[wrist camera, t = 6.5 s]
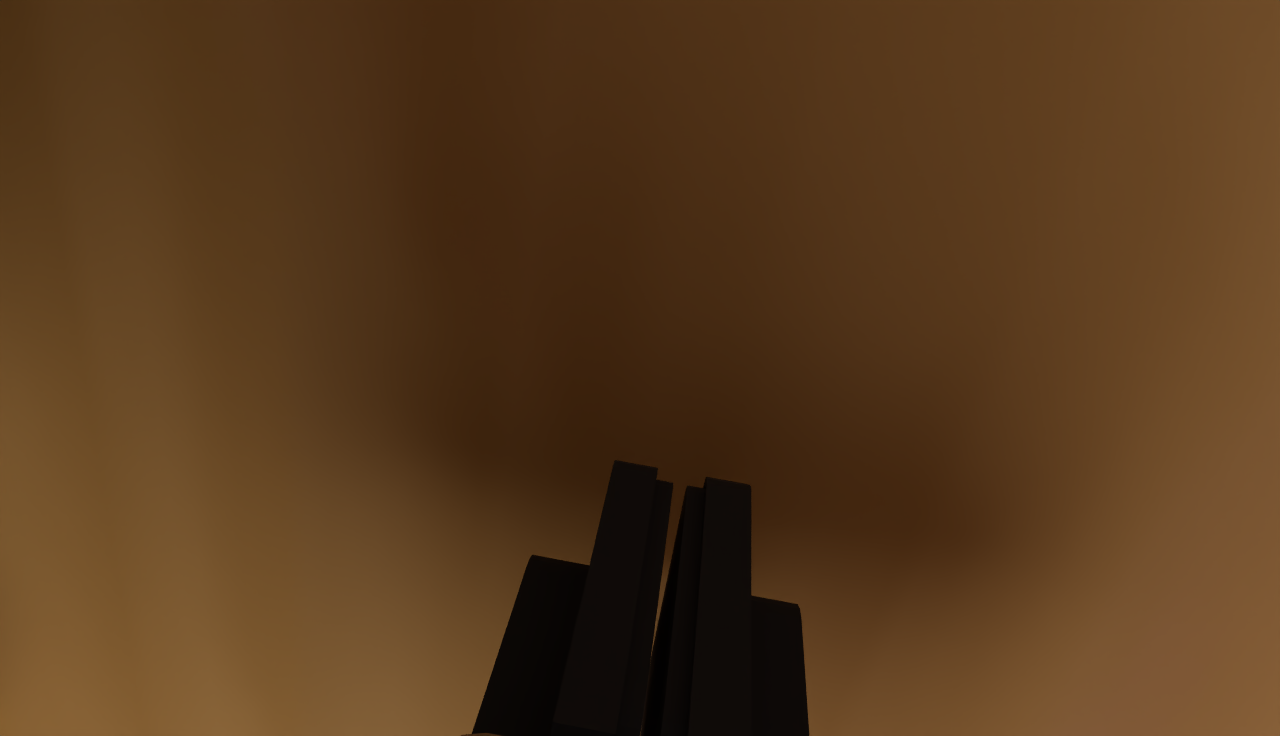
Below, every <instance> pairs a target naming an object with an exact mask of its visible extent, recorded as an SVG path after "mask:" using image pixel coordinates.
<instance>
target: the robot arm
mask: <svg viewBox="0 0 1280 736" xmlns="http://www.w3.org/2000/svg"><path fill="white" fill-rule="evenodd" d="M657 472H658V468H655V467H650V466H645V465H639V464H634V463H628V462H623V461H617V460H615V461H614V465H613V469H612V473H611V477H610V481H609V486H608V490H607V494H606V498H605V502H604V507H603V511H602V515H601V519H600V524H599V528H598V532H597V536H596V540H595V545H594V549H593V553H592V557H591V561H590V566H589V565H584V564H579V563H573V562H568V561H563V560H557V559H552V558H546V557H541V556H536V555H532V556H531V557H530V559H529V562H528V565H527V567H526V570H525V573H524V576H523V579H522V582H521V585H520V588H519V592H518V595H517V598H516V601H515V604H514V607H513V610H512V613H511V616H510V619H509V622H508V625H507V628H506V631H505V634H504V637H503V640H502V643H501V646H500V649H499V652H498V655H497V658H496V661H495V665H494V668H493V671H492V674H491V677H490V680H489V683H488V686H487V689H486V692H485V695H484V698H483V701H482V704H481V707H480V710H479V713H478V716H477V719H476V722H475V725H474V728H473V731H472V734H466V735H461V736H640V733H641V736H809V724H808V709H807V695H806V680H805V665H804V650H803V636H802V621H801V613H800V608H799V606H798V604H793V603H788V602H783V601H777V600H772V599H766V598H761V597H756V596H751V486H750V485H748V484H743V483H737V482H732V481H726V480H721V479H715V478H710V477H706V479H705V483H704V486H703V488H699V487H693V486H688V485H687V488H686V492H685V496H684V501H683V506H682V511H681V515H680V520H679V525H678V530H677V535H676V539H675V544H674V549H673V554H672V559H671V563H670V568H669V573H668V578H667V583H666V588H665V592H664V597H663V602H662V607H661V612H660V616H659V621H658V626H657V631H656V636H655V640H654V645H653V650H652V644H653V637H654V629H655V621H656V614H657V606H658V598H659V590H660V583H661V575H662V567H663V560H664V552H665V544H666V537H667V529H668V521H669V513H670V506H671V498H672V490H673V483H671V482H666V481H660V480H656V478H657ZM651 652H652V656H651ZM650 660H651V662H650ZM641 727H642V728H641Z"/></svg>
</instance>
